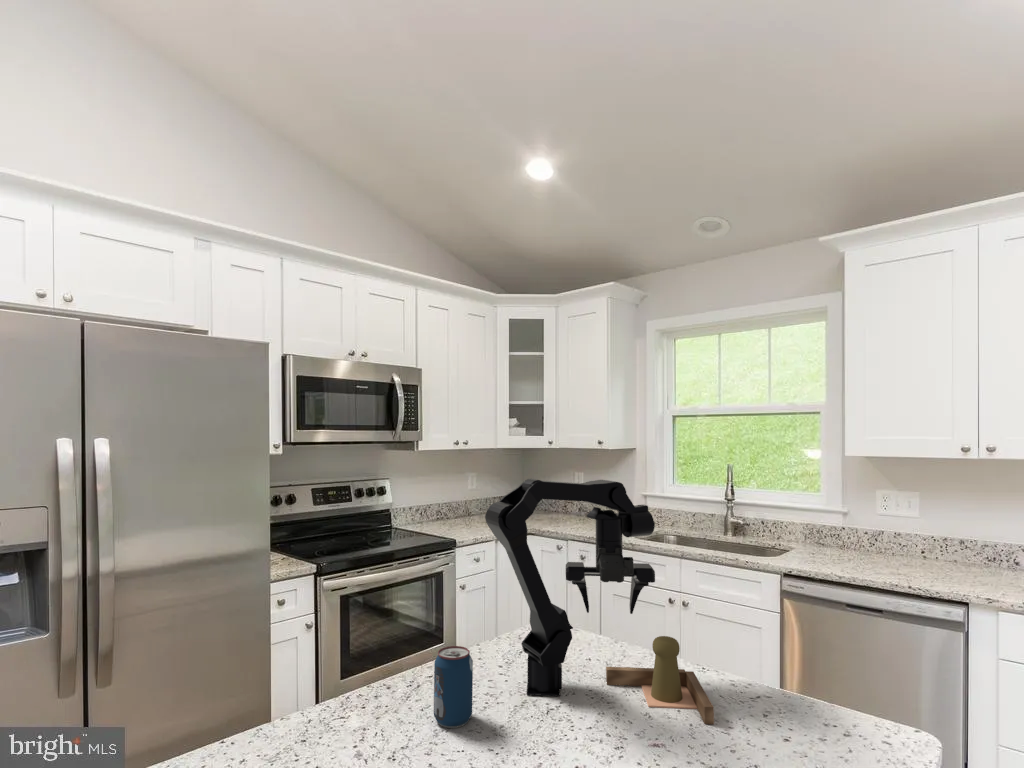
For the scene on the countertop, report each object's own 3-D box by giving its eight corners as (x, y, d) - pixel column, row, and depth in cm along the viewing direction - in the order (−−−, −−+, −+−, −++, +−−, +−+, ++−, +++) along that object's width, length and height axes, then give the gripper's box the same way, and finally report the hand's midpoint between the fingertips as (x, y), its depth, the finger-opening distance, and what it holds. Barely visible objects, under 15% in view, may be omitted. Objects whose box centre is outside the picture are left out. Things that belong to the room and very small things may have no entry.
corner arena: (614, 720, 108) (614, 703, 108) (606, 681, 124) (606, 666, 125) (713, 724, 107) (713, 707, 107) (692, 684, 123) (692, 669, 123)
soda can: (477, 713, 110) (478, 646, 111) (464, 732, 103) (465, 660, 104) (442, 708, 112) (443, 642, 113) (427, 726, 105) (428, 656, 106)
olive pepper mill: (685, 703, 114) (684, 644, 115) (652, 701, 115) (652, 642, 115) (679, 689, 120) (678, 633, 121) (649, 688, 121) (648, 632, 121)
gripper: (566, 545, 122) (566, 624, 121) (659, 547, 121) (660, 626, 120) (565, 535, 133) (565, 607, 132) (650, 537, 132) (651, 609, 131)
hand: (609, 612), depth 128 cm, fingers open, 9 cm apart
